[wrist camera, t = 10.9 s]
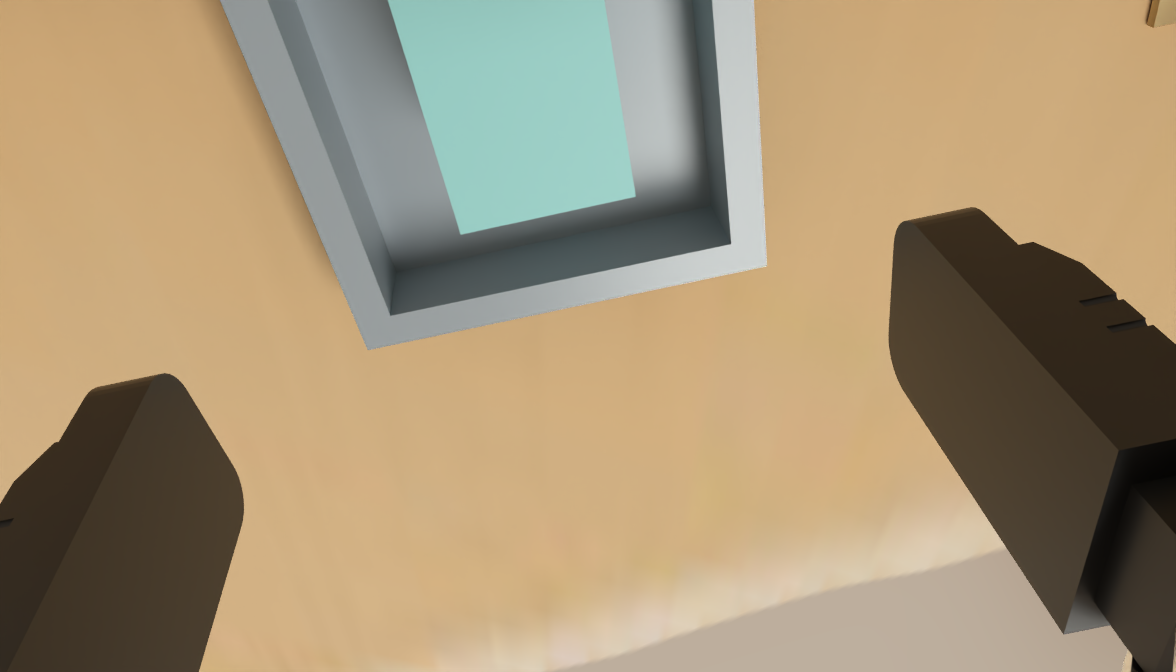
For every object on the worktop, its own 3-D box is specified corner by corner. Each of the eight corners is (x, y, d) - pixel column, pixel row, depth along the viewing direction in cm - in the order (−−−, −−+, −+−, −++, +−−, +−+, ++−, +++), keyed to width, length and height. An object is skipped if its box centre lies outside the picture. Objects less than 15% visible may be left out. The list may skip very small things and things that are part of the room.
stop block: (559, -139, 20) (589, -99, 15) (601, 101, 23) (635, 196, 18) (395, -103, 20) (371, -51, 15) (462, 131, 23) (460, 234, 18)
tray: (692, -452, 17) (729, -483, 15) (739, 218, 27) (766, 266, 24) (130, -330, 17) (76, -341, 15) (376, 294, 27) (367, 350, 24)
